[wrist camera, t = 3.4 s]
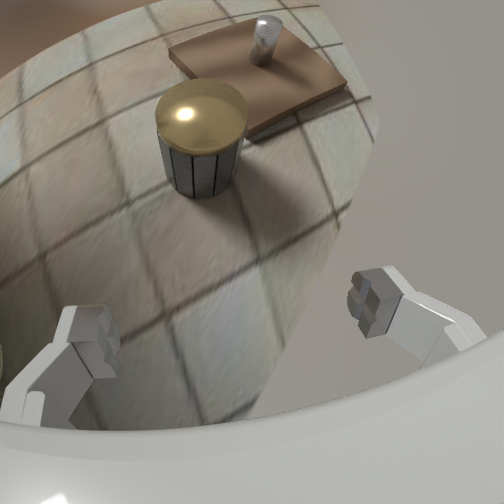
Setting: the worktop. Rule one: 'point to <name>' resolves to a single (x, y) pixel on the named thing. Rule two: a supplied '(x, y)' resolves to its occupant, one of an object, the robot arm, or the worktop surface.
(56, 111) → the worktop surface
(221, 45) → the post board
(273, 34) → the steel post
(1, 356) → the reusable coffee cup
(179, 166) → the gold-topped grooved cylinder
